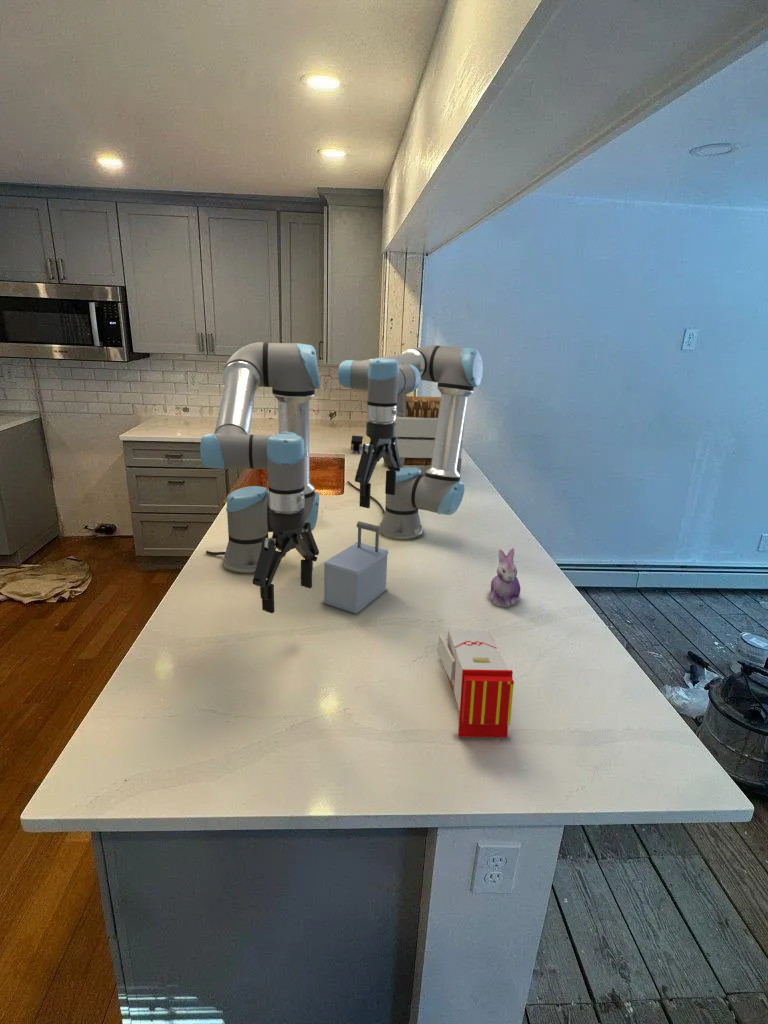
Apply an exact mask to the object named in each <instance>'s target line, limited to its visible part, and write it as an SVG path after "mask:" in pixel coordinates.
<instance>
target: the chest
mask: <svg viewBox="0 0 768 1024" xmlns="http://www.w3.org/2000/svg"><path fill="white" fill-rule="evenodd" d="M323 570H324V571H323V574H324V575H323V604H326V605H328V606H331V607H333V608H334V607H335V608H338V609H341V610H343V611H347V612H350V613H352V614H356V615H357V614H358V613H359V612H360V611H362V610H363V609H364V608H366V607H367V606H368V605H369V604H371V602H373V601H374V600H375V599H377V598H378V597H379V596H380V595H382V594H383V593H384V592H385V591H386V590H387V573H388V554H387V555H386V556H384V557H383V558H382V559H380V560H379V561H377V562H376V563H374V564H373V565H371V566H370V567H369V568H367V569H366V570H364V571H363V572H361V573H360V574H359V575H355V574H351V573H348V572H344V571H341V570H338V569H334V568H331V567H328V566H324V565H323Z"/></svg>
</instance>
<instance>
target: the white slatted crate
mask: <svg viewBox="0 0 768 1024" xmlns="http://www.w3.org/2000/svg"><path fill="white" fill-rule="evenodd" d="M440 399H441V396H415V395H414V396H413V395H412V396H411V395H408V394H401V395H397V405H396V410H397V414H396V420H395V421H394V423H395V424H396V430H395V437H397V448H398V453H399V457H400V462H401V467H400V468H405V466H406V467H409V466H411V467H417V466H418V467H431V462H432V455H433V448H434V441H435V434H436V427H437V420H438V413H439V406H440ZM464 422H465V419H464ZM464 429H465V423H464V424H463V431H462V437H461V444H460V450H459V457H458V463H457V472H458V473H459V475H460V476H461V472H462V461H463V460H462V453H463V442H464V441H463V440H462V439H463V438H464V431H465V430H464ZM396 463H397V462H396ZM383 466H384V467H387V466H386V463H385V461H384V460H383ZM398 468H399V467H398Z"/></svg>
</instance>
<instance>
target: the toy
mask: <svg viewBox="0 0 768 1024" xmlns="http://www.w3.org/2000/svg"><path fill="white" fill-rule="evenodd" d="M446 640H447V643H446V641H445V639H444V636H443V635H442V634H439V637H438V646H437V656H438V657H439V659H440V661H441V663H442V666H443V668H444V670H445V672H446V674H447V677H448V679H449V681H450V684H451V687H452V690H453V693H454V697H455V701H456V705H457V708H458V711H459V714H458V715H459V716H458V730H457V731H458V732H457V737H458V738H508V731H509V726H510V725H511V717H512V707H513V697H514V696H513V695H514V684H515V680H514V679H513V673H514V671H513V670H512V669H508V667H507V665H506V662H505V661H504V659H503V658H502V655H501V653H500V651H499V649H498V647H497V643H496V639H495V637H494V635H493V634H491V632H490V631H489V629H467V628H466V629H465V628H463V629H461V628H460V629H459V628H448V630H447V639H446Z"/></svg>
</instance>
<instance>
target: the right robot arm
mask: <svg viewBox="0 0 768 1024" xmlns="http://www.w3.org/2000/svg"><path fill="white" fill-rule="evenodd" d="M483 368H484V365H483V359H482V356H481V354H480V352H479V350H477V349H476V348H471V347H466V346H449V345H438V344H431V345H430V344H429V345H424V346H419V347H414V348H409V349H406V350H404V351H402V353H400V354H393V355H387V356H381V357H376V358H369V359H364V360H355V359H346V360H343V361H342V362H341V363H340V364H339V366H338V371H337V380H338V382H339V384H340V385H341V387H343V388H348V389H351V390H353V389H355V390H361V391H362V390H363V391H367V403H366V418H365V419H366V420H367V422H366V423H365V425H366V426H365V427H366V428H365V429H366V430H365V435H366V437H368V438H369V443H362V447H363V448H362V451H361V456H360V459H359V462H358V466H357V470H356V473H355V477H354V482H355V483H359V487H357V486H355V485H354V484H353V483H352V482H350V480H347V481H346V483H347V484H348V485H349V486H351V487H352V488H353V489H355V490H356V491H358V492H359V507H361V508H365V509H370V508H371V500H372V501H374V502H375V503H376V504H377V505H378V506H379V508H380V510H381V511H382V514H383V515H382V519H381V522H379V526H380V527H381V530H380V532H379V535H381V536H382V537H385V538H387V539H389V540H395V541H410V540H415V539H418V538H420V537H421V536H422V535H423V525H422V524H421V518H420V515H419V510H421V511H426V512H430V513H436V514H438V515H445V516H451V515H453V514H455V513H456V512H457V510H458V509H459V508H460V506H461V504H462V502H463V499H464V495H465V484H464V482H462V481H461V474H460V475H459V473H458V472H457V463H458V457H459V450H460V444H461V440H462V438H461V437H462V431H463V424H464V425H465V421H464V420H465V416H466V411H467V403H468V398H469V396H472V394H473V393H474V389H475V388H476V387H479V386H480V385H481V383H482V379H483V373H484V369H483ZM421 381H425V382H431V383H437V390H438V391H439V392H440V397H441V399H440V406H439V413H438V420H437V427H436V434H435V441H434V448H433V455H432V462H431V465H430V466H429V468H427V469H426V470H425V471H424V472H425V473H424V474H422V470H421V468H419V467H414V466H411V467H409V466H406V467H405V466H404V468H400V467H401V462H400V457H399V453H398V448H397V437H395V430H396V424H395V423H394V421H395V420H396V414H397V410H396V405H397V395H401V394H407V395H409V394H410V393H413V392H414V391H416V390H417V389H418V388H419V386H420V384H421ZM381 459H383V462H384V461H385V463H386V466H385V467H386V468H387V470H386V471H385V491H384V494H385V504H384V505H385V507H384V508H385V509H384V508H383V506H382V504H381V503H380V502H379V501H378V500H377V499H376V498H375V497H373V496H372V495H371V493H372V492H371V491H372V490H371V487H372V483H371V482H370V481H371V479H372V476H373V474H374V472H375V469H376V466H377V464H378V463H379V462H380V461H381ZM396 462H397V463H396ZM398 467H399V468H398Z"/></svg>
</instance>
